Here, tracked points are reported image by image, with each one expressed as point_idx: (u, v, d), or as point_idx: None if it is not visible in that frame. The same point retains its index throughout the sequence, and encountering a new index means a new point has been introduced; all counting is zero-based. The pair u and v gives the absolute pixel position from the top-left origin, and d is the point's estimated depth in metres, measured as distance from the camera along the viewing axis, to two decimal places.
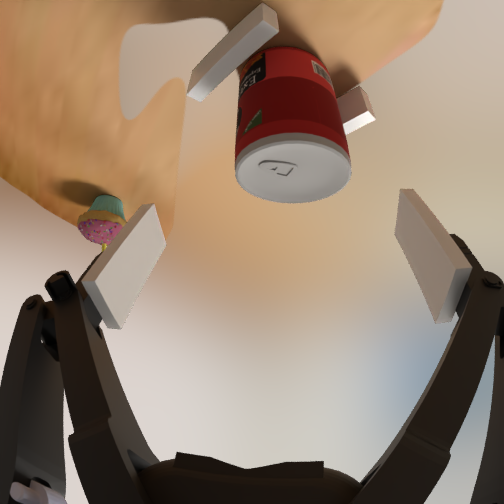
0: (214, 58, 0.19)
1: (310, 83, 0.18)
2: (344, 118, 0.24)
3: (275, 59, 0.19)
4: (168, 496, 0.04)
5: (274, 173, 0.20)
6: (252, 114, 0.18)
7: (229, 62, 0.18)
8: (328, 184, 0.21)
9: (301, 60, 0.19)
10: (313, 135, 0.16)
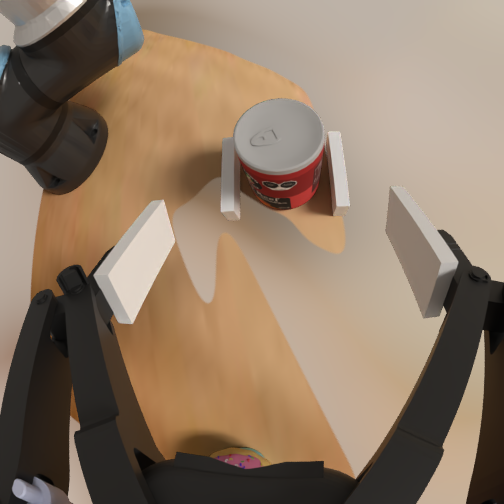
0: None
1: None
2: (330, 152, 0.31)
3: None
4: (173, 497, 0.04)
5: (267, 142, 0.24)
6: None
7: (227, 170, 0.32)
8: (309, 124, 0.24)
9: None
10: None
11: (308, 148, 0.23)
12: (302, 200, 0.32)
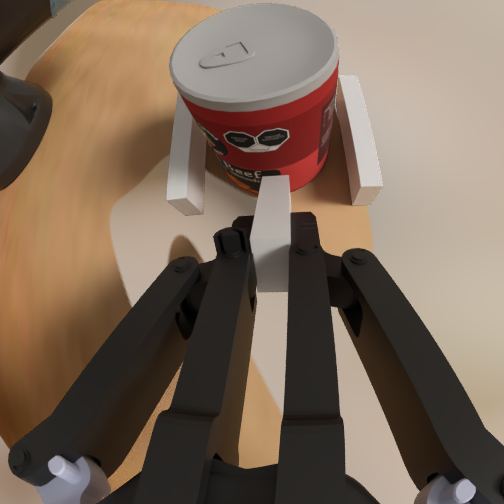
0: None
1: None
2: (344, 104, 0.18)
3: None
4: None
5: (230, 59, 0.11)
6: None
7: (181, 136, 0.19)
8: (309, 31, 0.11)
9: None
10: None
11: (309, 63, 0.11)
12: (302, 178, 0.19)
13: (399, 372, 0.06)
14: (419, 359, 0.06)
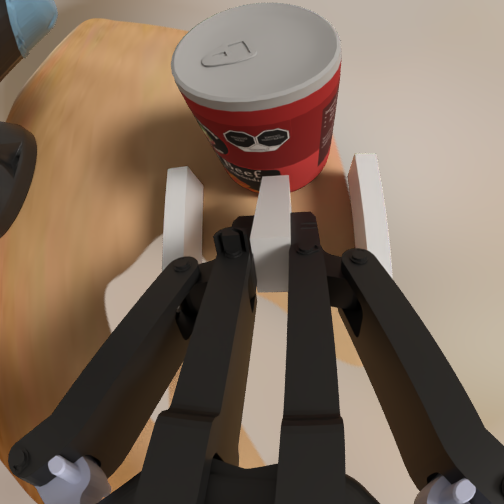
0: None
1: None
2: (359, 193, 0.17)
3: None
4: None
5: (231, 59, 0.11)
6: None
7: (173, 231, 0.18)
8: (312, 32, 0.11)
9: None
10: None
11: (310, 64, 0.11)
12: (302, 179, 0.19)
13: (399, 372, 0.06)
14: (419, 359, 0.06)
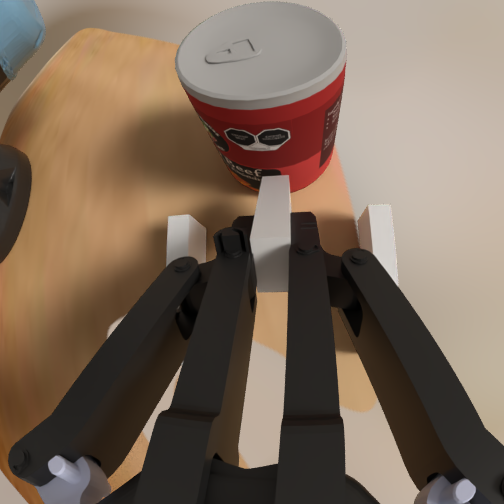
0: None
1: None
2: (370, 248, 0.16)
3: None
4: None
5: (235, 56, 0.11)
6: None
7: None
8: (318, 32, 0.11)
9: None
10: None
11: (314, 65, 0.10)
12: (303, 179, 0.19)
13: (399, 371, 0.06)
14: (419, 359, 0.06)
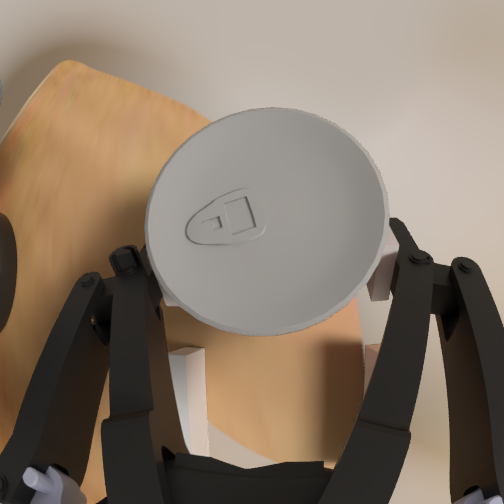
0: None
1: None
2: None
3: None
4: (191, 502, 0.04)
5: (228, 236, 0.09)
6: None
7: None
8: (350, 187, 0.09)
9: None
10: None
11: (340, 267, 0.08)
12: None
13: (477, 378, 0.05)
14: (497, 371, 0.05)
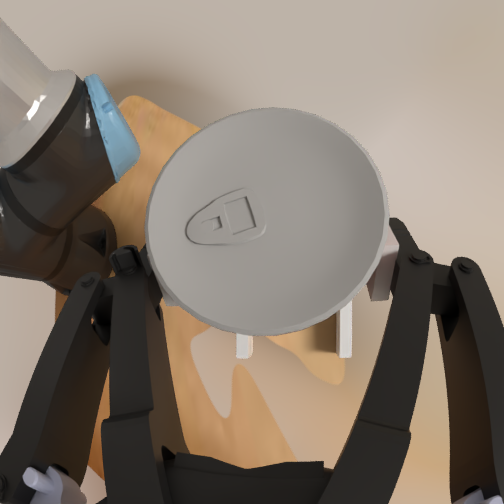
0: None
1: None
2: None
3: None
4: (191, 502, 0.04)
5: (228, 236, 0.09)
6: None
7: None
8: (350, 187, 0.09)
9: None
10: None
11: (340, 267, 0.09)
12: None
13: (477, 378, 0.05)
14: (497, 371, 0.05)
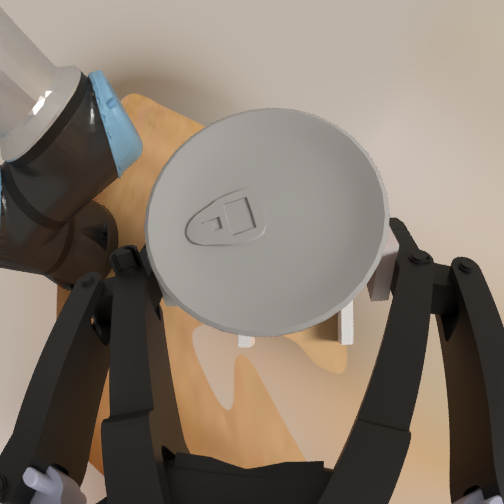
0: None
1: None
2: None
3: None
4: (191, 502, 0.04)
5: (228, 237, 0.09)
6: None
7: None
8: (350, 187, 0.09)
9: None
10: None
11: (340, 267, 0.09)
12: None
13: (477, 378, 0.05)
14: (497, 371, 0.05)
